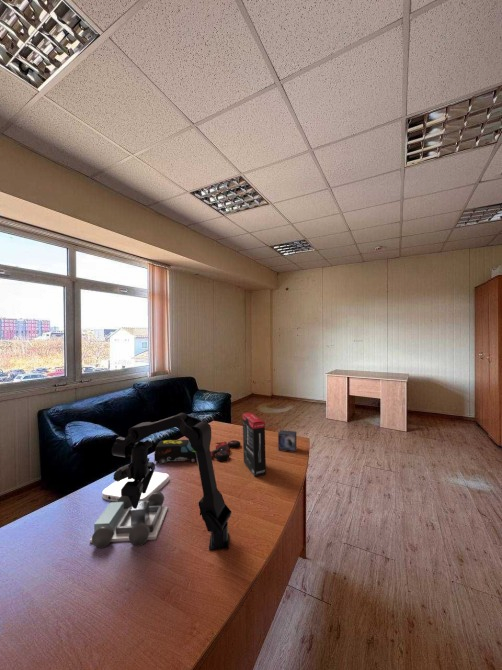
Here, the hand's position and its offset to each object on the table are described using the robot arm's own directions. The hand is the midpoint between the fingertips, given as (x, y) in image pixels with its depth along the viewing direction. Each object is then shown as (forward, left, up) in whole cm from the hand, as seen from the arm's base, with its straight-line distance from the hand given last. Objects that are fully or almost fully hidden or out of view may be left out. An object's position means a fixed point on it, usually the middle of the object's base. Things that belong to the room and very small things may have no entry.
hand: (139, 500), depth 99 cm
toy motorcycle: (+60, -28, -9) cm, 67 cm away
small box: (+60, -67, -9) cm, 90 cm away
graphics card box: (+38, -45, -9) cm, 60 cm away
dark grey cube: (0, 0, -8) cm, 8 cm away
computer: (+25, +10, -10) cm, 28 cm away
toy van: (+52, -3, -9) cm, 53 cm away
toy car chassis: (0, +3, -9) cm, 9 cm away
